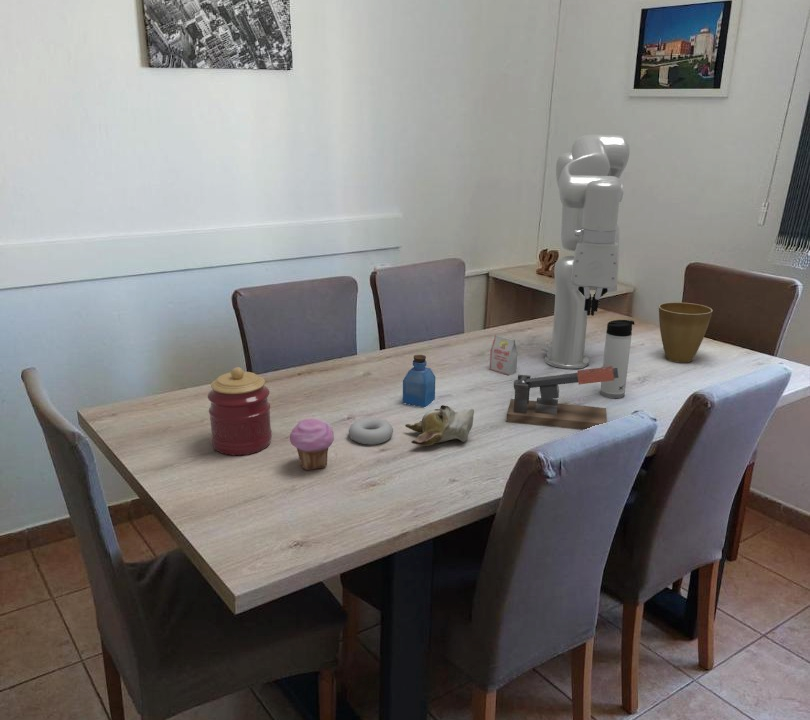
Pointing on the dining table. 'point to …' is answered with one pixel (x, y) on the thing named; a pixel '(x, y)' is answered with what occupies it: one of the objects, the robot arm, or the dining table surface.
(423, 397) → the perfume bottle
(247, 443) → the canister
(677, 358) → the plant pot
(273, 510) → the dining table surface
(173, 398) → the dining table surface
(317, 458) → the cupcake
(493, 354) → the white paper bag
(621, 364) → the travel mug
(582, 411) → the nutcracker base
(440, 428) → the ceramic sculpture
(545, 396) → the lever
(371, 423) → the donut
